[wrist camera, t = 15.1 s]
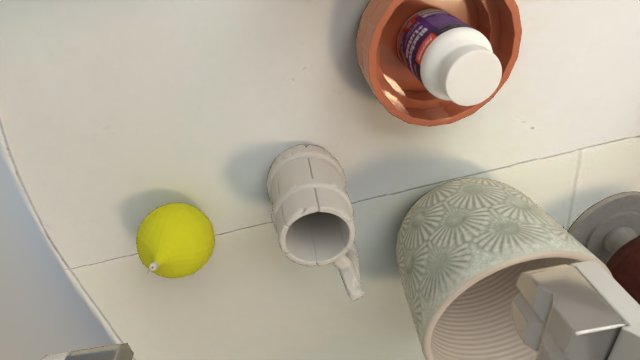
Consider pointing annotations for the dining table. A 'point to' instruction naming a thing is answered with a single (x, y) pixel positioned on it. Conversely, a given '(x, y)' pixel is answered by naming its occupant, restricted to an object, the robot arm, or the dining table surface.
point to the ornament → (175, 240)
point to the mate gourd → (614, 237)
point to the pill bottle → (449, 57)
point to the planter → (475, 266)
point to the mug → (314, 212)
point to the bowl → (396, 79)
